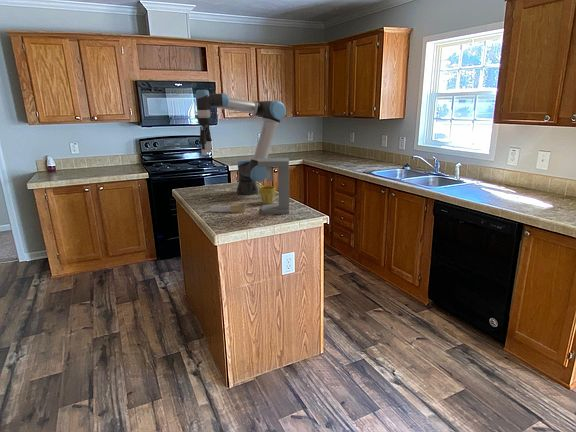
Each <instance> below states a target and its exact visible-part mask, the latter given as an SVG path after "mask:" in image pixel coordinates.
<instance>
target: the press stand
mask: <svg viewBox="0 0 576 432" xmlns="http://www.w3.org/2000/svg"><path fill="white" fill-rule="evenodd" d="M258 167H266V179H265V181H266V182H274V167H275V168H277V178H278V179H277V180H278V181H277V183H278V184H277V186H278V188H277V190H278V204H262V207H261V210H260V212H261V213H260V214H261V215H266V214H267V215H269V214H270V215H271V214H273V215H275V214H276V215H277V214H280V215H281V214H283V215H286V214H290V158H289V157H277V158H276V157H270V158H269V157H267V158H260V159H259V160H258Z"/></svg>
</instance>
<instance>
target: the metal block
mask: <svg viewBox="0 0 576 432" xmlns="http://www.w3.org/2000/svg"><path fill="white" fill-rule="evenodd" d="M209 209H210V213H230V214H231V213H232V214H233V213H240V214H241V213H243V214H244V213H245V211H246V202H245V203H244V202H243V203H242V202H241V203H239V202H237V203H234V202H232V203H231V204H230V205H210V207H209Z"/></svg>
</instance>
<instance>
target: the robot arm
mask: <svg viewBox="0 0 576 432" xmlns="http://www.w3.org/2000/svg"><path fill="white" fill-rule="evenodd" d="M195 103H196V114H197V124H198V125H200V127H199V131H200V132H199V142H198V143H199V145H200V148H201V150H200V151H201V156H207V154H208V153H212V141H213V139H212V136H211V130H210V125H212V118H211V116H212V115H211V108H216V109H217V108H218V109H223V110H228V111H235V112H241V113H246V114H247V113H248V114H251V115H252V116H256V117H259V118H262V121H263V123H262V124H263V125H262V127H261V131H260V134H259V137H258V142H257V144H256V148H255V152H254V155H253V157H252V158H250V159H243V160H239V161H237V173H238V183H237V187H236V194H238V195H244V196H246V195H247V196H251V195H256V194H258V193H259V187H258V185H257V183H260V182H263V181H266V167H258V160H259V159H260V158H268V156H269V153H270V149H271V145H272V142H273V139H274V135H275V131H276V129H277V126H279V125H280V123H281V120H282V119H283V118H285V116H286V113H287V112H286V111H287V109H286V106H285V104H284V103H283V102H282V101H279V100H260V101H259V100H253V101H250V100H244V99H239V98H233V97H230V96H229V95H228V94H227V93H210V92H209V90H208V89H197V90H196V91H195Z"/></svg>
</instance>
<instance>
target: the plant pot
mask: <svg viewBox="0 0 576 432" xmlns="http://www.w3.org/2000/svg"><path fill="white" fill-rule="evenodd" d="M258 193H259V194H260V197H261V201H262V204H263V205H271V204H273V203H274V198H275V194H276V186H272V185H263V186H258Z"/></svg>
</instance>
